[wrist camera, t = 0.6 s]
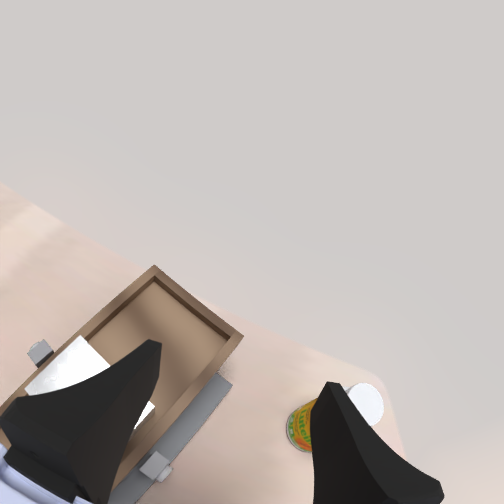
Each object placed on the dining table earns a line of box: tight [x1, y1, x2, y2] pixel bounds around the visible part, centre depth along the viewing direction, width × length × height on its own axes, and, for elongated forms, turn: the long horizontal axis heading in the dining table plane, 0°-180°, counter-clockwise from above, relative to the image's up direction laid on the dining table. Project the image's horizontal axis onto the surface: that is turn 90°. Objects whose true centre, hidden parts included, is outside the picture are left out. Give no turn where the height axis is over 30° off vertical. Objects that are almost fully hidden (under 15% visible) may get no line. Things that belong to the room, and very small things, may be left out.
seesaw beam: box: [0, 265, 244, 492], centre depth 17 cm, size 26×10×4 cm, turn 149°
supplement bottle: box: [287, 383, 384, 452], centre depth 24 cm, size 5×5×10 cm
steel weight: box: [25, 335, 155, 442], centre depth 16 cm, size 6×7×4 cm
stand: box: [27, 340, 232, 504], centre depth 19 cm, size 23×14×6 cm, turn 149°
